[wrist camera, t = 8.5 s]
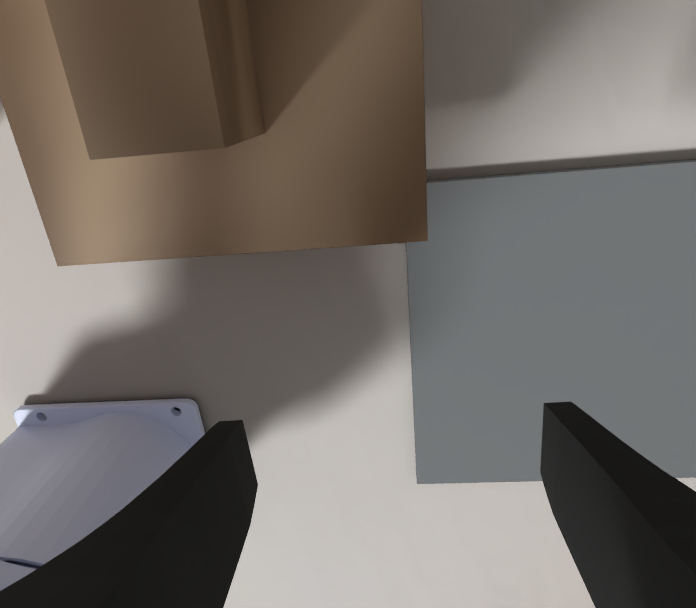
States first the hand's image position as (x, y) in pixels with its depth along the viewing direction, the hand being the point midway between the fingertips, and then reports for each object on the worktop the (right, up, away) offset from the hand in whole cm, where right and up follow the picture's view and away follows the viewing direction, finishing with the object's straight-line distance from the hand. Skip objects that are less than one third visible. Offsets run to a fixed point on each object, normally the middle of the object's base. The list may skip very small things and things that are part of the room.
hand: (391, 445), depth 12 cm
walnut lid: (-5, +11, +2) cm, 12 cm away
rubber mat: (+9, +2, +10) cm, 14 cm away
